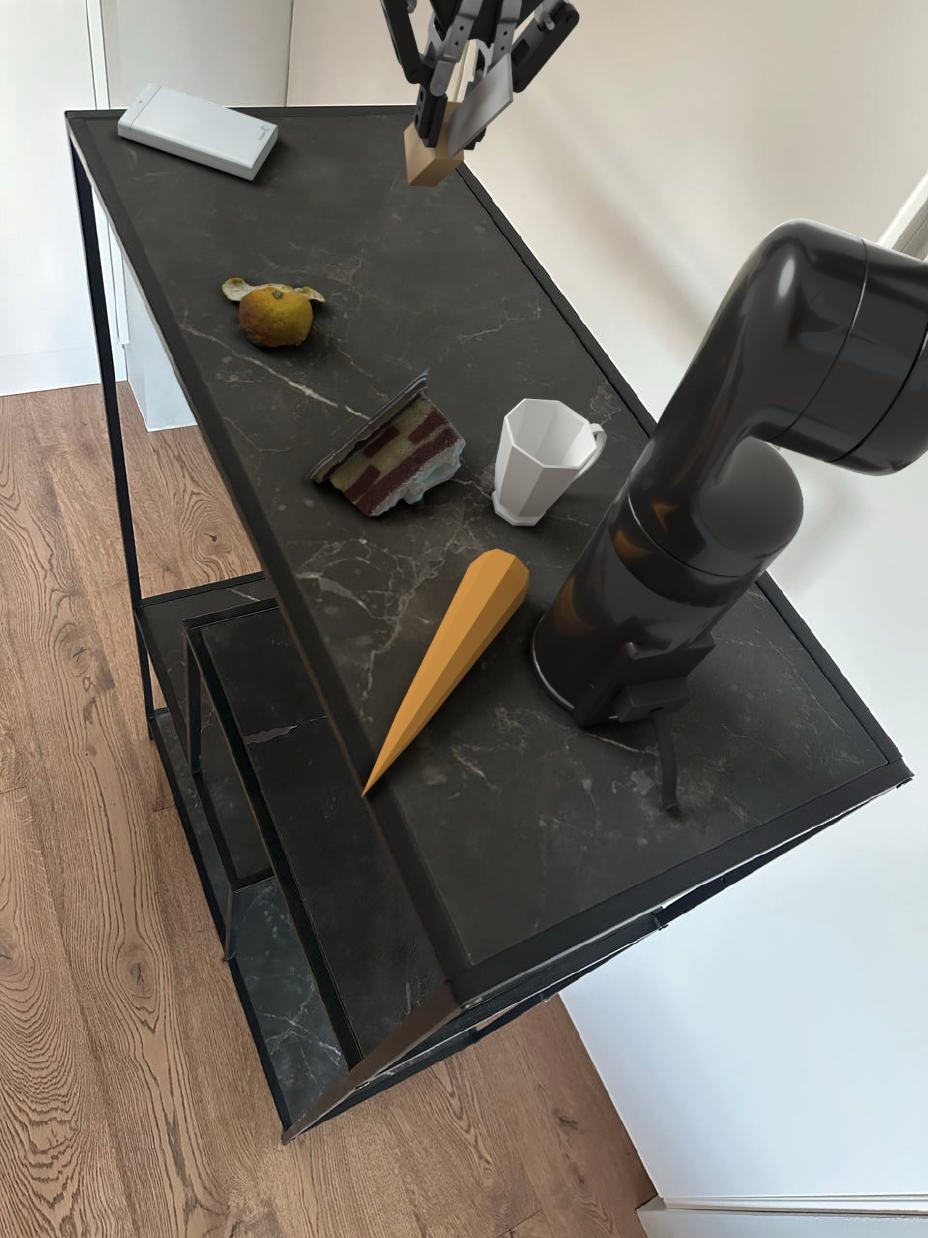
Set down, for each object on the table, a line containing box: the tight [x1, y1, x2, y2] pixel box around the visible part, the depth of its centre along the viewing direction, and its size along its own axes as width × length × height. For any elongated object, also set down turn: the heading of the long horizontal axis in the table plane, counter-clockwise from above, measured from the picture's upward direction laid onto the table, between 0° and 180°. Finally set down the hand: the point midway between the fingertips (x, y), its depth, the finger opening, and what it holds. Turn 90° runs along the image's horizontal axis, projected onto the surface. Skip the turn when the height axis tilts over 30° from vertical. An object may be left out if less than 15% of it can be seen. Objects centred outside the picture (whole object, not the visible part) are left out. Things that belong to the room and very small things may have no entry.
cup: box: [491, 398, 608, 527], centre depth 67 cm, size 7×10×8 cm
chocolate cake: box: [305, 365, 466, 518], centre depth 67 cm, size 10×7×12 cm
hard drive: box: [117, 81, 279, 181], centre depth 84 cm, size 2×8×12 cm
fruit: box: [221, 277, 326, 348], centre depth 73 cm, size 8×8×4 cm
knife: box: [403, 54, 514, 188], centre depth 60 cm, size 16×2×4 cm
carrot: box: [360, 548, 530, 799], centre depth 59 cm, size 20×4×4 cm
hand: (445, 141), depth 63 cm, fingers closed on knife, 2 cm apart
